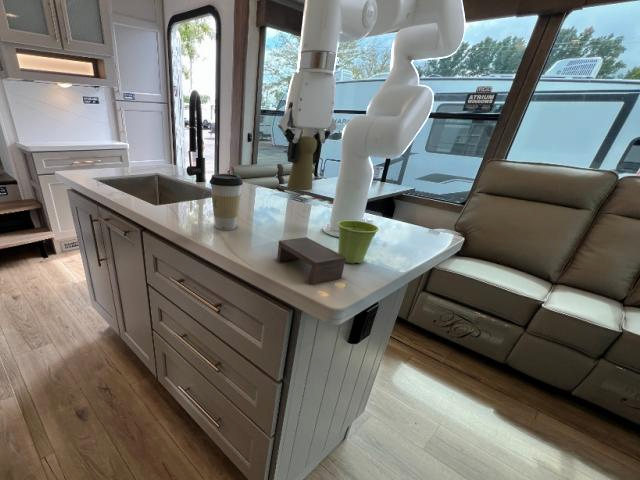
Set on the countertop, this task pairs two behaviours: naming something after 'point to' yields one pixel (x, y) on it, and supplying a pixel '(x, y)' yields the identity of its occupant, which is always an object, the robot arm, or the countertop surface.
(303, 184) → the olive pawn figure
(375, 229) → the plant pot
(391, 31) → the robot arm
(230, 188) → the coffee cup
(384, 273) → the countertop surface
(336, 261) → the shelf
